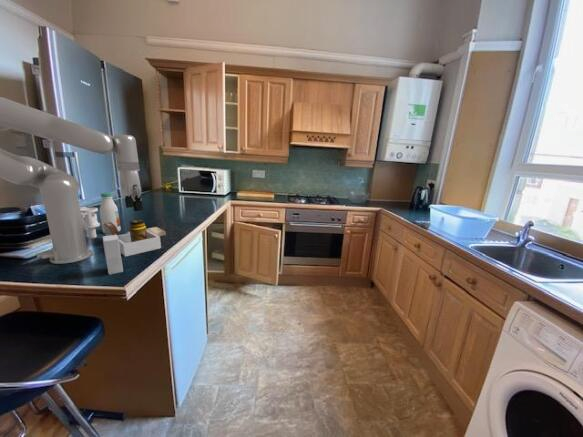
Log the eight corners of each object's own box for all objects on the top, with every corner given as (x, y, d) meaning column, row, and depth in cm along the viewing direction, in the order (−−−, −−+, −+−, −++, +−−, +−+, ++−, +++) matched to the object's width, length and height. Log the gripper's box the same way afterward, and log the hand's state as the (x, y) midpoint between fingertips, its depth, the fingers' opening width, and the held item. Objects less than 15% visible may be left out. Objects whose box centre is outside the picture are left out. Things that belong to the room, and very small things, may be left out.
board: (134, 241, 117) (134, 237, 117) (127, 235, 124) (126, 232, 124) (165, 234, 127) (165, 231, 127) (156, 230, 134) (156, 226, 134)
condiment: (151, 248, 109) (148, 221, 106) (128, 252, 104) (124, 224, 101) (146, 243, 114) (143, 218, 112) (124, 247, 109) (120, 220, 106)
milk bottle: (114, 233, 127) (108, 194, 122) (99, 233, 127) (92, 194, 122) (124, 229, 134) (119, 192, 130) (109, 229, 135) (104, 191, 130)
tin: (121, 244, 112) (118, 226, 110) (113, 246, 110) (110, 227, 108) (112, 237, 122) (110, 220, 120) (104, 238, 120) (102, 221, 118)
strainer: (82, 236, 121) (77, 206, 118) (100, 234, 126) (96, 204, 122) (83, 240, 116) (78, 208, 113) (102, 237, 121) (98, 206, 117)
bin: (125, 256, 99) (123, 244, 98) (114, 247, 109) (112, 236, 108) (161, 248, 109) (160, 237, 108) (148, 240, 119) (147, 230, 117)
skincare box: (107, 268, 88) (102, 236, 85) (121, 266, 91) (117, 234, 88) (108, 275, 84) (102, 241, 81) (123, 272, 86) (118, 238, 83)
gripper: (111, 166, 104) (117, 207, 108) (124, 168, 93) (131, 213, 97) (131, 166, 109) (137, 205, 114) (146, 167, 98) (152, 210, 102)
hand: (134, 208), depth 105 cm, fingers open, 9 cm apart
